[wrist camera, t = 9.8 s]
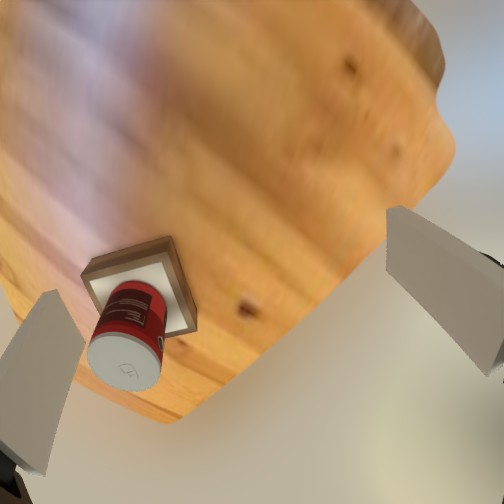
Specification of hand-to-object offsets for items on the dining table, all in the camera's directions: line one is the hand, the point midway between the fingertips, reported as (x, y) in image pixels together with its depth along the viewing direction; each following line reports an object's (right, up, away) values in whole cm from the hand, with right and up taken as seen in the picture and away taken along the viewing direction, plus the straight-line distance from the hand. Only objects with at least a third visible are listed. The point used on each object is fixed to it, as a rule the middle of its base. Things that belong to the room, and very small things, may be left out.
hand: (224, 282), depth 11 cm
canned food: (-13, -6, +26) cm, 30 cm away
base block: (-14, -4, +31) cm, 34 cm away
